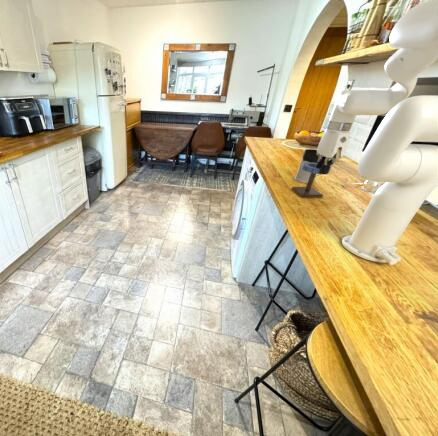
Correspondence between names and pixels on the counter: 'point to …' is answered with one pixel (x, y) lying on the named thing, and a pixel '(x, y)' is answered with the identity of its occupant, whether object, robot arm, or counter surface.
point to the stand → (308, 189)
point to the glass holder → (307, 157)
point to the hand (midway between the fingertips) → (320, 172)
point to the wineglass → (367, 185)
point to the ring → (311, 168)
